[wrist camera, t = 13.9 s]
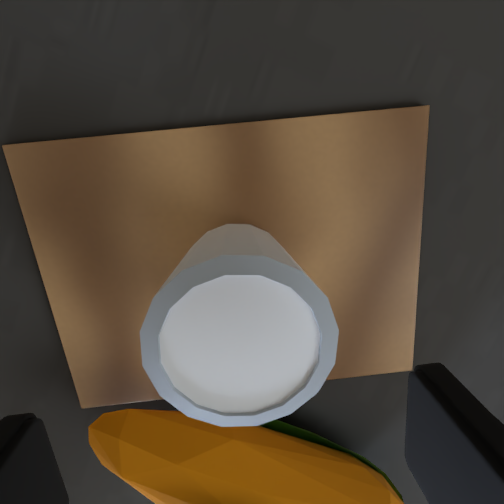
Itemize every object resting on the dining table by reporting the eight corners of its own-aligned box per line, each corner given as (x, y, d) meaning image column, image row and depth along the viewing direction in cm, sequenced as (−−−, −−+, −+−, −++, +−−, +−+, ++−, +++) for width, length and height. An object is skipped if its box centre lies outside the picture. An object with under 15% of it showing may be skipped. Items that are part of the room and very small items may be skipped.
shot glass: (283, 340, 20) (309, 441, 13) (162, 319, 19) (126, 417, 12) (316, 226, 18) (367, 277, 11) (183, 197, 17) (153, 234, 10)
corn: (403, 675, 18) (12, 579, 14) (349, 526, 25) (83, 435, 21) (487, 575, 17) (83, 437, 13) (405, 449, 24) (133, 337, 20)
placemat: (84, 404, 21) (81, 409, 20) (6, 145, 16) (1, 145, 16) (409, 366, 21) (412, 370, 21) (425, 105, 17) (430, 104, 16)
